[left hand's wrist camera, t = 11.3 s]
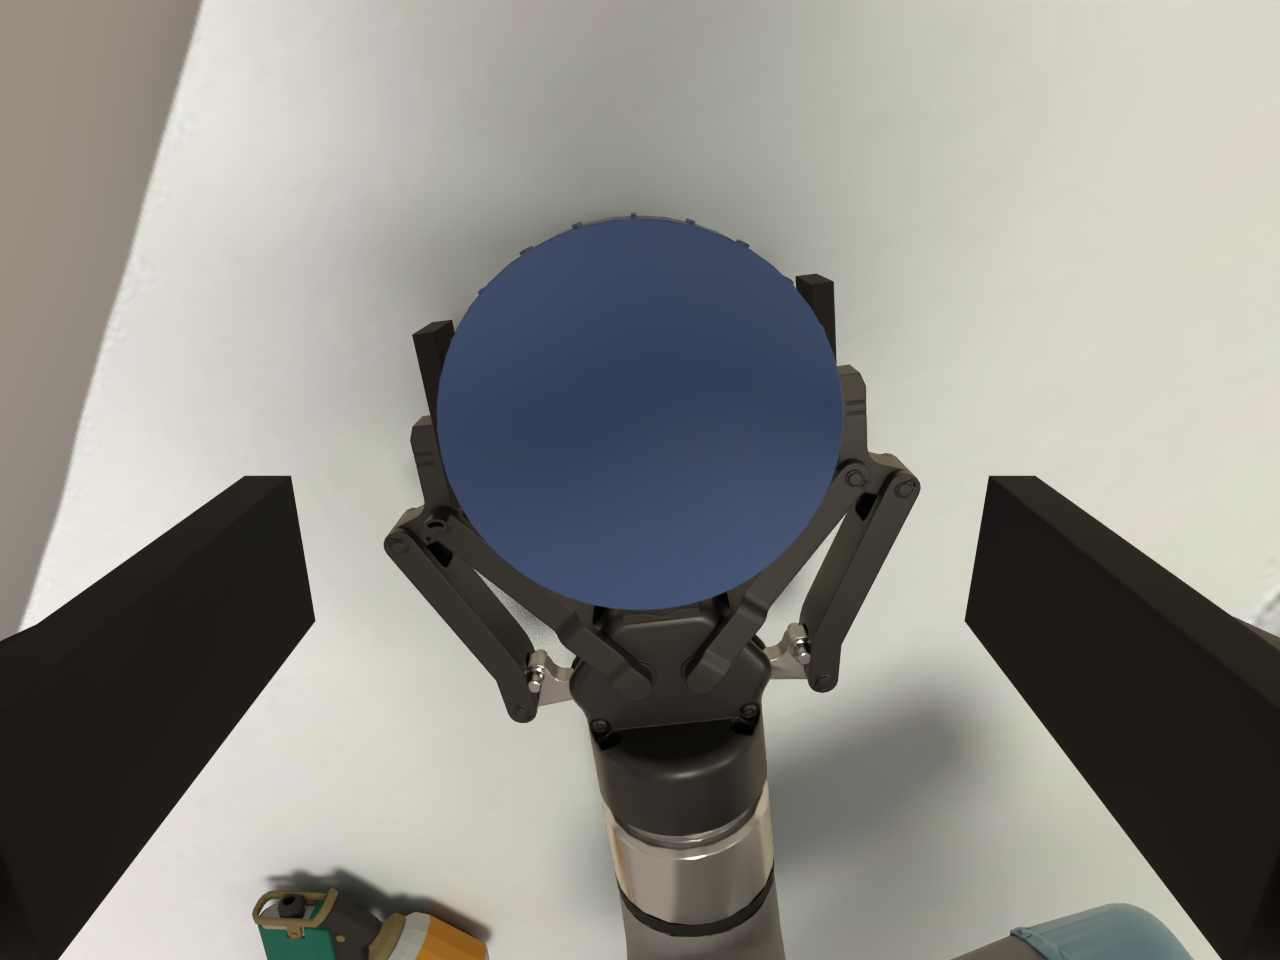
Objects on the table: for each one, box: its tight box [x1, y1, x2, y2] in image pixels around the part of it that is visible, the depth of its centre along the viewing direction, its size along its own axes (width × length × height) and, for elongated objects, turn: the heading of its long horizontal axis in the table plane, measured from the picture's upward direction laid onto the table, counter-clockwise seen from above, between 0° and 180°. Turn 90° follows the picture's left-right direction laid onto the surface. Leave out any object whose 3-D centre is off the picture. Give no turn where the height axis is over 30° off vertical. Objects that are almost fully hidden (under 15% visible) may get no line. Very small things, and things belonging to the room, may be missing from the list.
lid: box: [437, 213, 843, 610], centre depth 20 cm, size 10×10×2 cm
